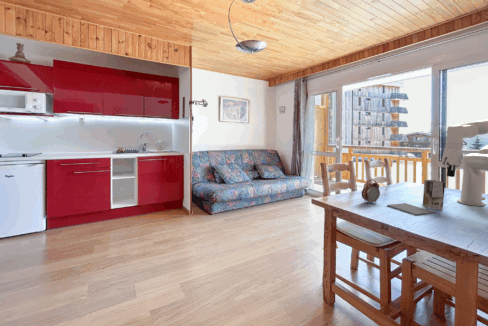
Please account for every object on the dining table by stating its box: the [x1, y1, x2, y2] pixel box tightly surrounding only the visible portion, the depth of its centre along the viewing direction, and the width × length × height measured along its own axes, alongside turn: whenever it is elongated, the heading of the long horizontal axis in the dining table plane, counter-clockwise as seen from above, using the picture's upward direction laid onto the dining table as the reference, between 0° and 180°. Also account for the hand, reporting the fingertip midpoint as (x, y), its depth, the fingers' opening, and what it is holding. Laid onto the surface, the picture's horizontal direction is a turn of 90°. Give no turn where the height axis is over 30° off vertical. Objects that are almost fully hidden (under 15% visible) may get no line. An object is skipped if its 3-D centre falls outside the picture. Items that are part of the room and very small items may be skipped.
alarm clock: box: [361, 179, 381, 203], centre depth 148 cm, size 11×5×15 cm, turn 105°
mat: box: [386, 202, 436, 216], centre depth 135 cm, size 14×18×1 cm
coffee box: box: [422, 179, 446, 211], centre depth 138 cm, size 9×6×16 cm
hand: (450, 176), depth 140 cm, fingers closed
